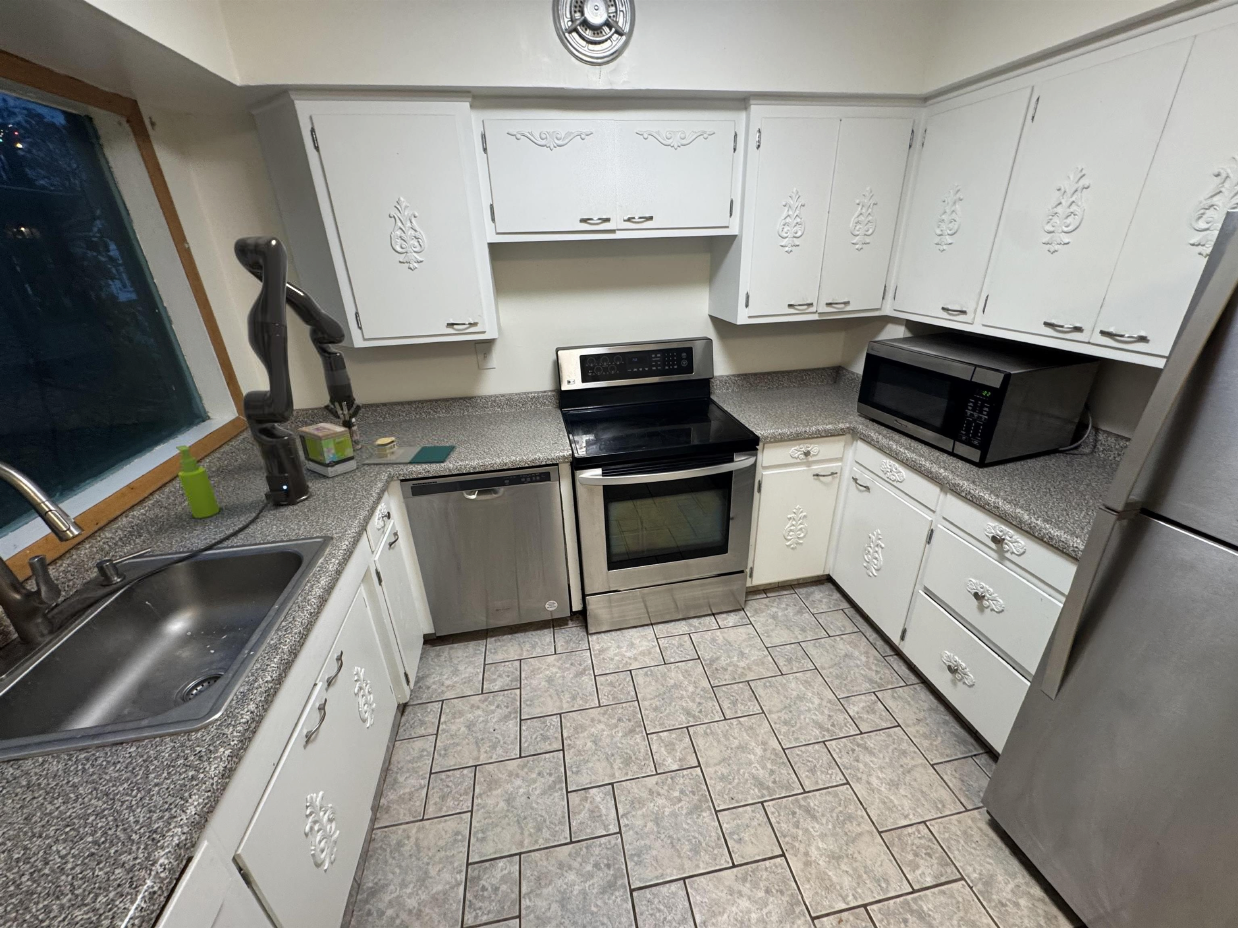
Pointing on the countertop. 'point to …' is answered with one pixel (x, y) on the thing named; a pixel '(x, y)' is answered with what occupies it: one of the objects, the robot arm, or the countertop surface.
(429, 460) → the board
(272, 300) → the robot arm
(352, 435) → the beer can
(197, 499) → the soap dispenser
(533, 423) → the countertop surface
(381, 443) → the stacked layers on plate
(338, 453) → the tea box
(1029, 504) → the countertop surface
